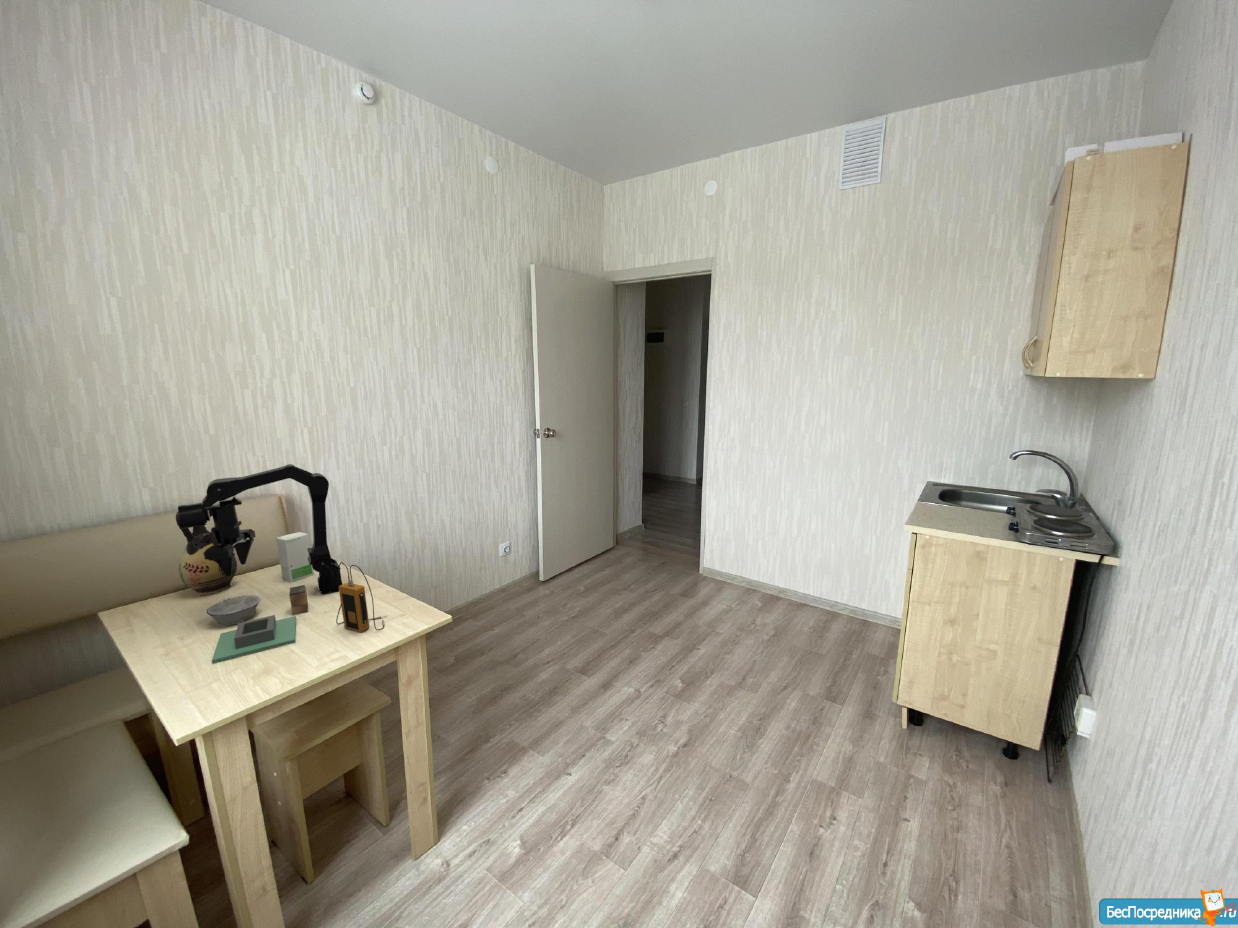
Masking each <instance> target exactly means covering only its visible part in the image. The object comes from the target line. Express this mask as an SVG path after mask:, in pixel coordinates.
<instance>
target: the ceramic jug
mask: <svg viewBox="0 0 1238 928" xmlns="http://www.w3.org/2000/svg"><path fill="white" fill-rule="evenodd" d="M209 514H210V518H212V517H213V516H212V512H211V510H209ZM175 522H176V526H177V527H178V528H179V529H180V531H181V532H182V535H183V536H184V537H185V538H186V542H187V543H186V544H185V547H184V548H183V551H182V552H181V556H180V559H179V563H178V574H179V578H180V580H181V582H182V583H183V584H184V586H185V587H188V588H189V589H192V590H193V591H195V592H196V594H197V595H198V596H204V595H210V594H216V593H219V592H222V591H225V590H227V589H230V588H232V585H231V583H232V581H233V579H234V577H235V575H236V573H237V570H238V569H237V568H238V562H237V558H236V556H235V557H234V564H233V570H232V575H231V576H226V574H225V573H224V571H223V570H222V569H221V567H220V566H219V565H218V564H217V562H215V561H212V560H211V561H209V560H208V559H206V560H205V559H204V555H203V553H204V552H205V550H206V549H208V548H209V547H211V546H214V545H213V543H212V544H210V545H207V546H205V547H203V548H202V549H200V550H199V548H197V547H194V546H193V542H192V541H193V539H192V538H194V537H195V536H198V535H200V534H201V535H205V534H207V533H209V532H210V531H209V530H208V529H207V527H206V525H202V526H197V527H192V531H191V530H190V528H185V529H181V527H180V523H179V513H178V511H177V512H176V513H175ZM218 545H221V544H218Z"/></svg>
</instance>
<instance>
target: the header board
mask: <svg viewBox="0 0 1238 928" xmlns="http://www.w3.org/2000/svg"><path fill="white" fill-rule="evenodd" d="M296 632H297V615H294V616H293V615H292V616H290V617H285V618H281V619H277V620H276V615H275V614H272V615H269V616H265V617H260V618H256V619H251V620H245V621H243V622H240V623H237V627H236V629H234V630H229V631H225V632H220V635H219V637H218V640H217V643H216V647H215V650H214V652H213V656H212V658H211V664H212V665H213V664H217V663H221V662H226V661H229V660H233V659H237V658H240V657H244V656H248V655H253V654H256V653H260V652H264V651H269V650H271V649H276V648H281V647H283V646H287V645H290V644H291V645H292V644H296V640H297V639H296V636H297V633H296Z"/></svg>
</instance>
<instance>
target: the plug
mask: <svg viewBox="0 0 1238 928" xmlns="http://www.w3.org/2000/svg"><path fill="white" fill-rule="evenodd" d="M288 595H289V600H290V606H291V612H292V617H293V616H298V615H302V614H305V613H308V612H309V603H308V597H307V596H308V595H307V590H306V584H302V585H297V586H292V587H289V594H288Z"/></svg>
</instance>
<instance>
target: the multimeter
mask: <svg viewBox="0 0 1238 928" xmlns="http://www.w3.org/2000/svg"><path fill="white" fill-rule="evenodd" d="M338 565H339V567H340V568H341V565H343V566H344V567H345V568H346V571H347V578H348V579H347V580H348V581H347V582H345V583H342V584H343V585H341V584H340V581H339V576H338V572H337V576H338V581H339V584H340V586H339V591H338V592H339V593H338V594H339V599H340V605H339V608H338V611H337V615H336V621H335V623H336V624H337V625H341V624H344V628H345V629H347V630H352V631H356V632H359V633H362V632H365V631H366V630H368V629H370V620H371V621H373V626H374V628H375V631H380V630H383V629H384V628H385V620H384V619H383V618H385V617H387V615H384V616H381V615H380V616H375V607H374V597H373V593H372V589H371V586H370V585H369V581H368V579H367V577H366V575H365V573H364V572H363V570H362V569H361V568H360V567H359V566H358V565H356V564H352V565H350V566H349V567H347V565H346V564H345V563H344V562H342V561H341V562H340V563H338ZM339 567H338V571H339ZM352 567H356V568H358V569H359V571H360V572H361V573H362V575H363V577H364V579H365V581H366V584H367V586H368V589H369V592H370V597H371V601H372V603H371V604H372V614H373V615H372V618H369V613H368V611H369V610H368V603H367V597H366V590H365V586H364V585H360V584H355V583H354V580H353V575H352V571H351V569H352ZM348 568H349V569H348ZM340 611H341V614H342V618H343V619H342V620H343V621H342V622H340V623H338V619H339V615H340ZM377 619H382V620H381V622H382V628H377V627H376V621H375V620H377Z"/></svg>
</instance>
